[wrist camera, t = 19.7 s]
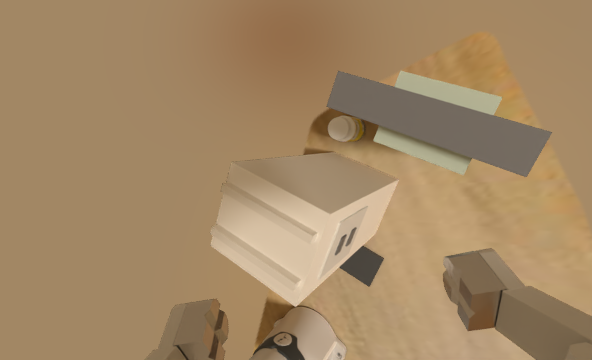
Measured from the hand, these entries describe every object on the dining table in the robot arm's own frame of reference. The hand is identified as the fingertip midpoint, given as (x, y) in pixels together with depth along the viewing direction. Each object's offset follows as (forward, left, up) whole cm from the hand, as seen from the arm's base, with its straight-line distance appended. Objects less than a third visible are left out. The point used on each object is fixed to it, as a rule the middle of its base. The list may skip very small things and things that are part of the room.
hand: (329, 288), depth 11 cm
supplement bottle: (+7, +17, -49) cm, 53 cm away
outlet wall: (-6, +17, -49) cm, 52 cm away
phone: (-19, +18, -50) cm, 56 cm away
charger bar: (+7, +1, -26) cm, 27 cm away
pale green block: (+7, 0, -49) cm, 50 cm away
